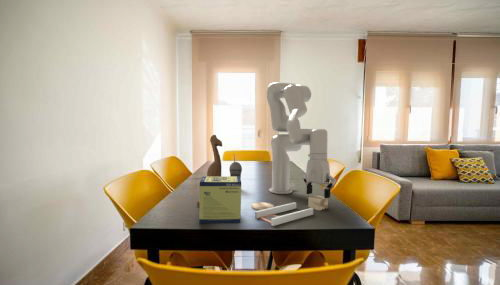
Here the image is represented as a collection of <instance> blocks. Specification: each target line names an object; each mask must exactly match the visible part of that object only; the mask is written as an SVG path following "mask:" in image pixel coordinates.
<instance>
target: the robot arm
mask: <svg viewBox="0 0 500 285" xmlns="http://www.w3.org/2000/svg"><path fill="white" fill-rule="evenodd" d="M311 97H312V91H311V89H310V88H309V86H307V85H302V84H298V83H289V82H282V81H281V82H280V81H274V82H271V83H269V85H268V86H267V89H266V100H267V103H268V106H269V111H270V112H269V113H270V119H271V120H270V122H271V127H272V128H271V129H272V130H273V132H276V133H280V134H276V135H273V136H272V137H271V140H270V147H271V151H272V152H271V153H272V155H271V156H272V158H271V159H272V160H271V161H272V162H271V164H272V167H271V168H272V171H271V180H272V181H271V187H270V188H268V191H269V193H271V194H276V195H278V194H279V195H288V194H291V193H293V189H292V188H293V187H295V186H296V184H295V182H292V183H290V176H291V175H290V173H291V172H290V168H291V166H290V165H291V159H290V156H289V155H288V152H298V151H300V150H301V149H302V146H309V153H308V155H307V156H308V157H309V159H308V160H307V162H306V169H305V170H306V171H305V173H302V175H301V176H302V178H303V181H304V184H305V186H306V195H311V194H313V184H318V185H323V186H324V189H323V193H324V194H323V197H324V198H328V199H329V198H331V189H333V187H334V186H335V184H336V181H337V179H336V178H334V177H333V176H332V175H331V171H330V170H331V169H330V163H329V160H328V130H327V129H325V128H301V123H300V120H299V118H301V117H303V116H304V115H306V113H307V112H308V107H307V105H306V103H309V101H310V100H311ZM281 99H284V100H285V102H286V105H287V108H288V111H289V115H287V112H286V106H285V104H284V102H283V101H282V100H281ZM281 133H282V134H281ZM286 133H287V134H286Z"/></svg>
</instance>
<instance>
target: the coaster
mask: <svg viewBox="0 0 500 285" xmlns="http://www.w3.org/2000/svg"><path fill="white" fill-rule="evenodd" d="M250 206H251V207H250V208H252V209H253V210H255V211H259V210H264V209H268V208H272V207H275V205H274V204H272V203H270V202H265V201H264V202H262V201H261V202H254V203H252V204H251V205H250Z"/></svg>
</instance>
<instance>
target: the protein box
mask: <svg viewBox="0 0 500 285" xmlns="http://www.w3.org/2000/svg"><path fill="white" fill-rule="evenodd" d="M198 198H199V200H198V201H199V206H198V207H199V210H198V213H199V215H198V223H199V224H239V223H240V224H241V222H242V221H241V214H242V212H241V211H242V180H241V179H240V176H231V177H230V176H221V177H208V176H207V175H206V176H202V177H201V179H200V180H199V197H198Z"/></svg>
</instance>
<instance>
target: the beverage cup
mask: <svg viewBox="0 0 500 285" xmlns="http://www.w3.org/2000/svg"><path fill="white" fill-rule="evenodd" d="M242 171H243V168H242V165H241V163H240V162H237V161H236V156H235V154H233V162H231V164H229V174H230V175H229V177H231V176H240V179H241V178H242V177H241V176H242Z"/></svg>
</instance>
